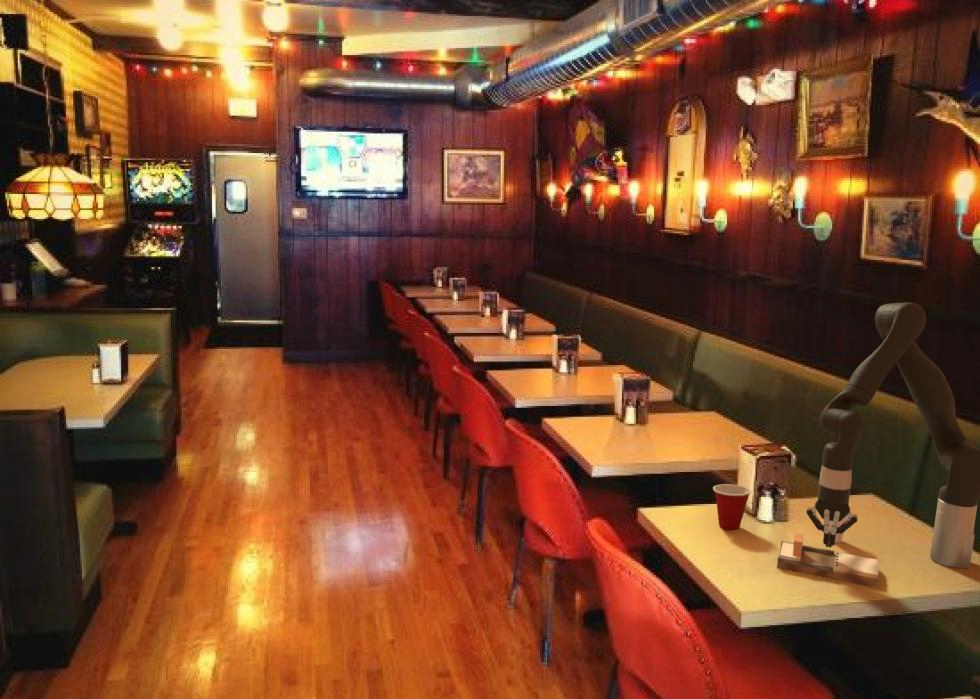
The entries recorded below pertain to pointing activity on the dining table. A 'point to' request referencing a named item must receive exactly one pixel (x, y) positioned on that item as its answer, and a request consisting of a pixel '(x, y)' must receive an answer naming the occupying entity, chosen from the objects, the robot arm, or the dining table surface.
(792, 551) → the white orange block
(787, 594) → the dining table surface
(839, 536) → the smoothie
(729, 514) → the plastic cup
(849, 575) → the mandoline slicer
